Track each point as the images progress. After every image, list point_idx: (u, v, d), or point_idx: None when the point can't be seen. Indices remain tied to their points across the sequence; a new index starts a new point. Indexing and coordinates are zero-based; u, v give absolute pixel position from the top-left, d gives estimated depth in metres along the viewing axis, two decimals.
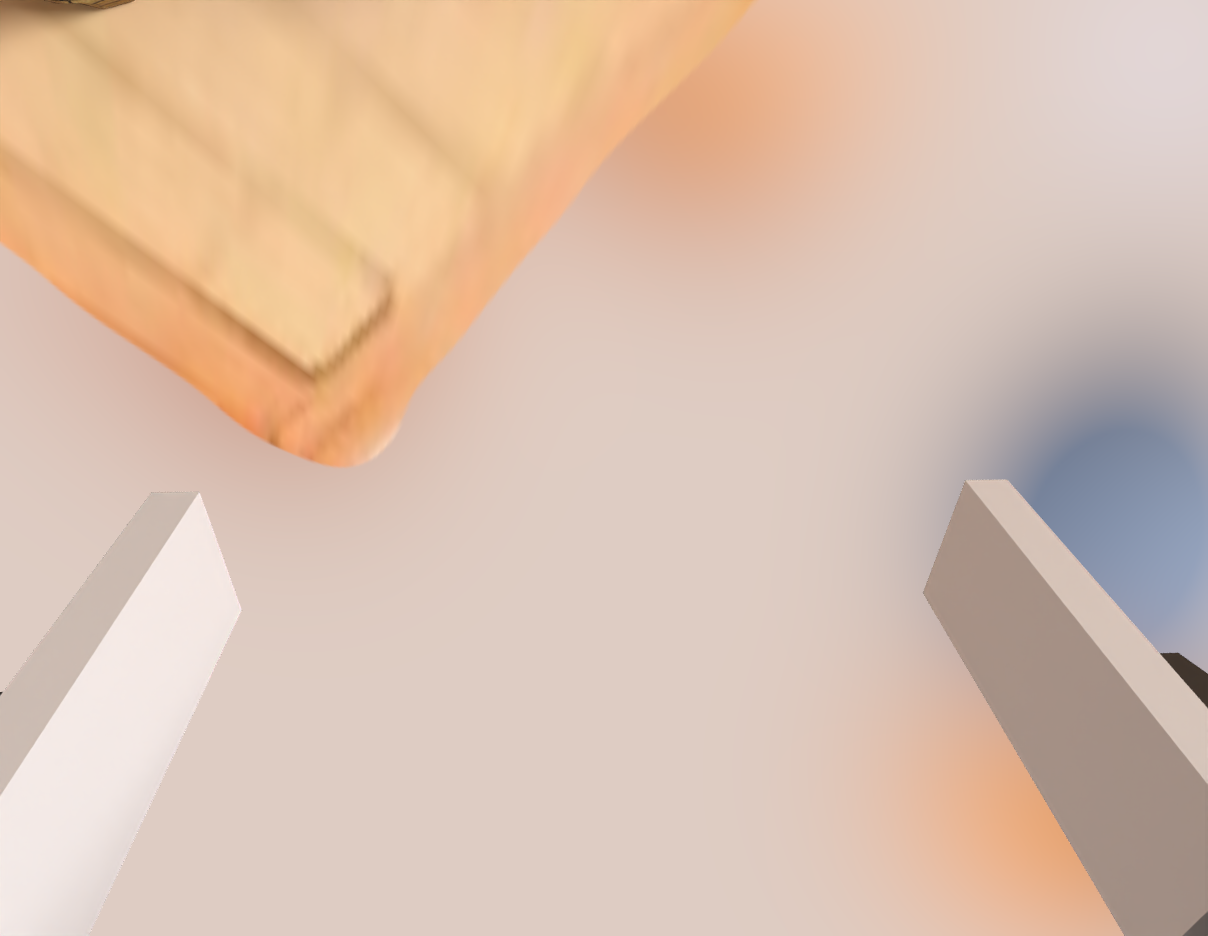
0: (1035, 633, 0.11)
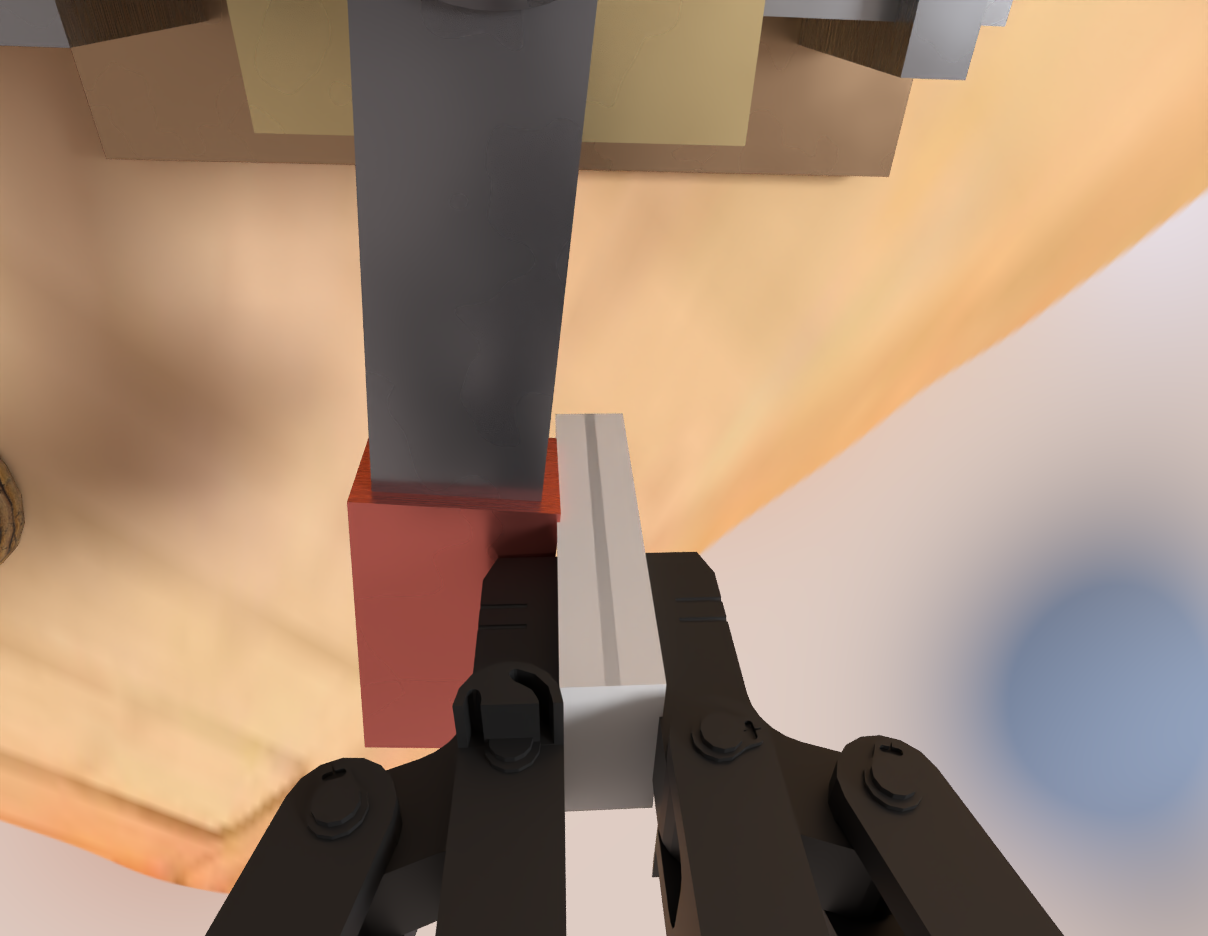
0: None
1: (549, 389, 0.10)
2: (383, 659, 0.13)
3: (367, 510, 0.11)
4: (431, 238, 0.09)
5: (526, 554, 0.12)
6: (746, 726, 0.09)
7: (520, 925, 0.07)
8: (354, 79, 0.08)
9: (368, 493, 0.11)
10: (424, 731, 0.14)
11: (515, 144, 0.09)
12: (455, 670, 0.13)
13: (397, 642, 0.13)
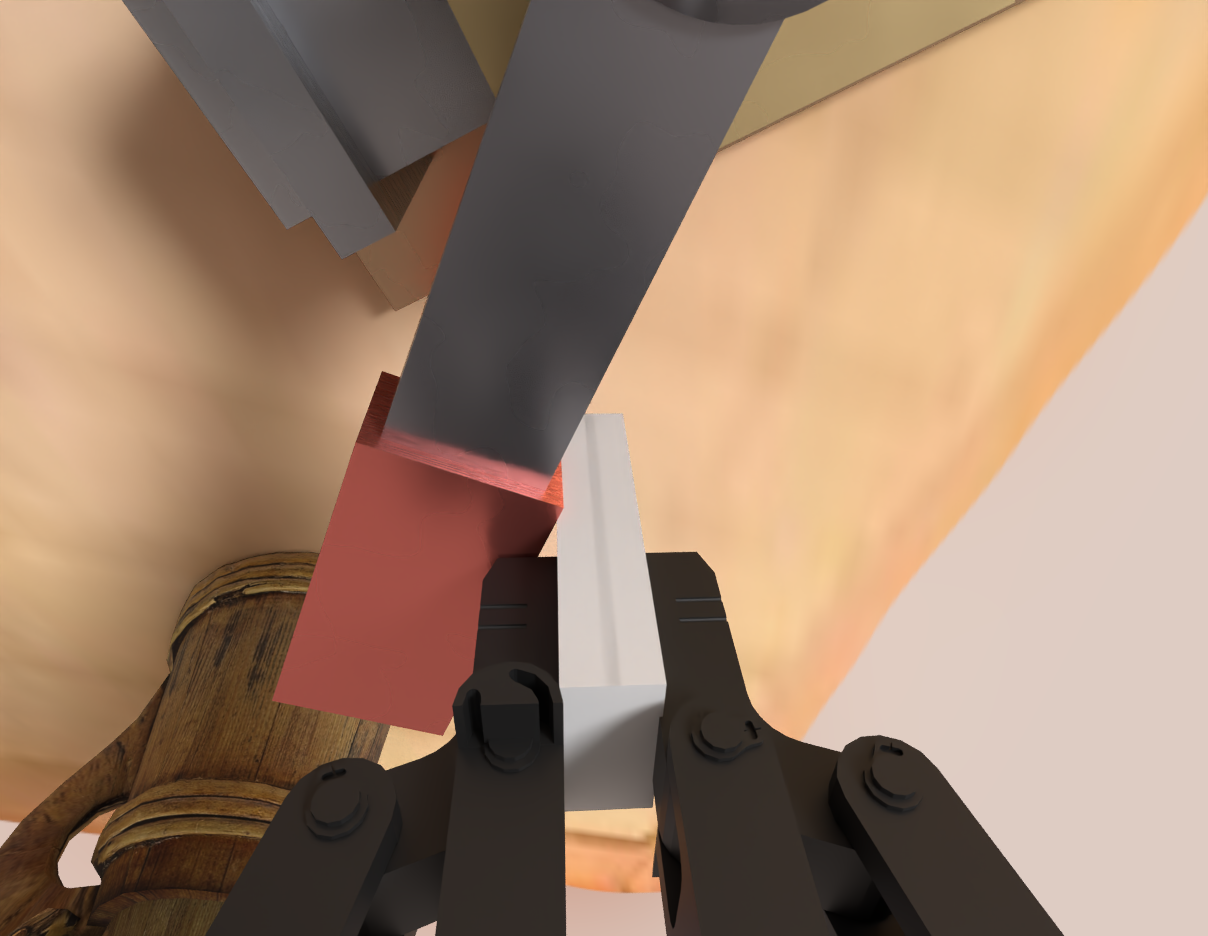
0: None
1: (594, 384, 0.11)
2: (328, 612, 0.12)
3: (373, 456, 0.11)
4: (538, 206, 0.09)
5: (516, 539, 0.12)
6: (746, 726, 0.09)
7: (520, 925, 0.07)
8: (524, 30, 0.08)
9: (377, 439, 0.11)
10: (341, 696, 0.13)
11: (651, 142, 0.09)
12: (398, 639, 0.13)
13: (350, 598, 0.12)
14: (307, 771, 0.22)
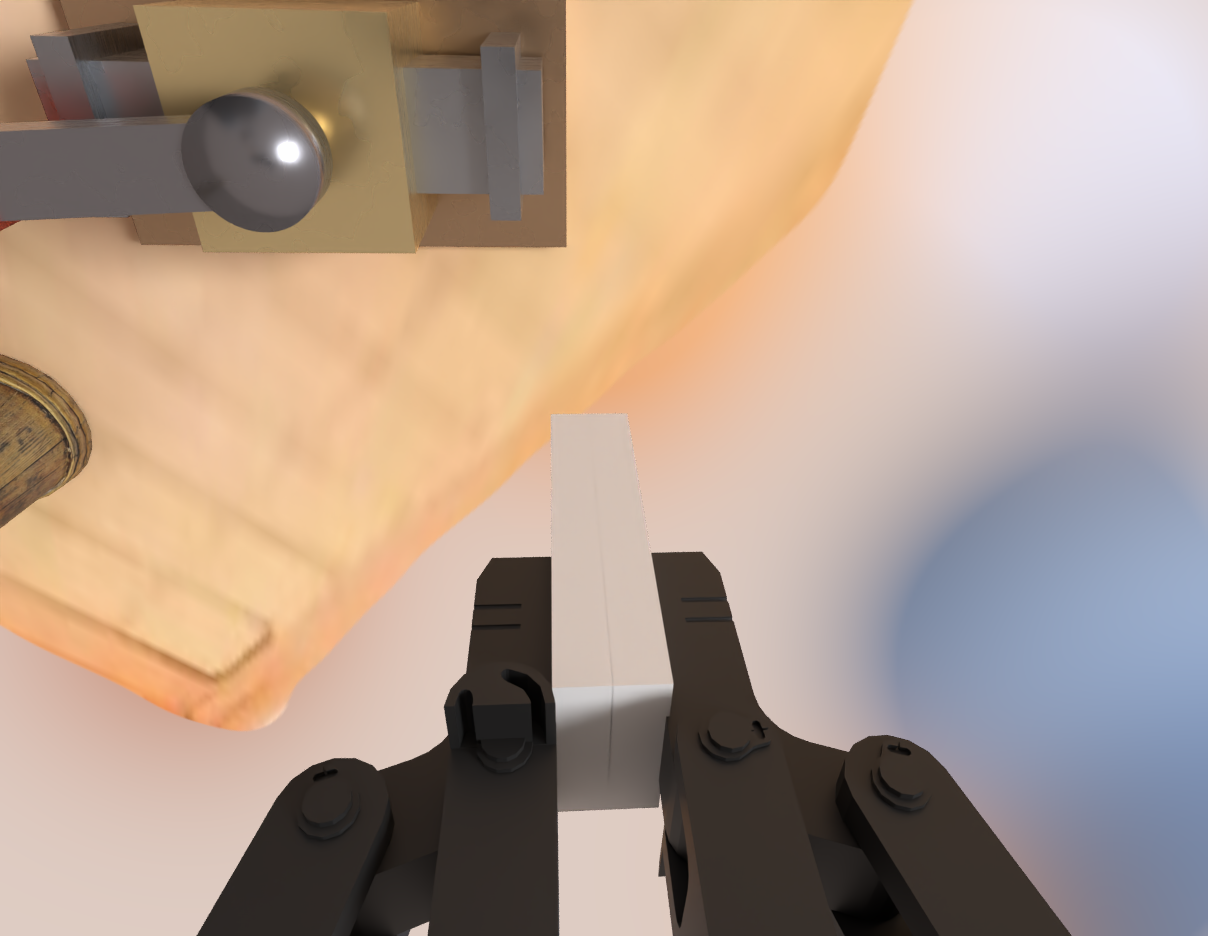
0: None
1: (57, 216, 0.23)
2: None
3: None
4: (99, 158, 0.23)
5: None
6: (754, 726, 0.09)
7: (512, 925, 0.07)
8: (144, 126, 0.22)
9: None
10: None
11: (152, 188, 0.23)
12: None
13: None
14: None
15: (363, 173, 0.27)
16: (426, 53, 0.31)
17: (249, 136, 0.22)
